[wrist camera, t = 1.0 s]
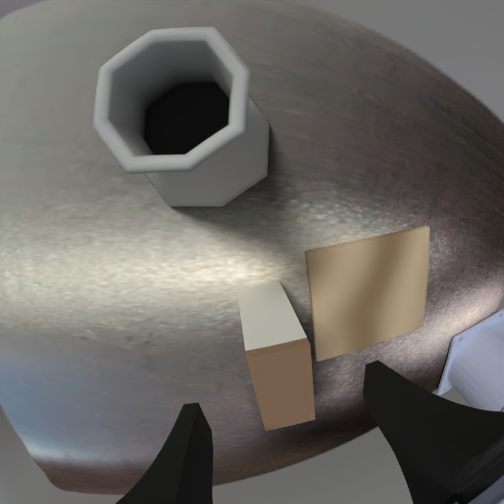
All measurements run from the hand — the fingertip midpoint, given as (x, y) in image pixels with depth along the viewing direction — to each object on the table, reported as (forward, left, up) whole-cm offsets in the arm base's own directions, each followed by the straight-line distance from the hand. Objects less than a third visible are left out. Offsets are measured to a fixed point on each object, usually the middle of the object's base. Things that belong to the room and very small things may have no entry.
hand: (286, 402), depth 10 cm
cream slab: (0, 0, -7) cm, 7 cm away
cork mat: (-8, 0, -7) cm, 10 cm away
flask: (+1, -11, -7) cm, 13 cm away
